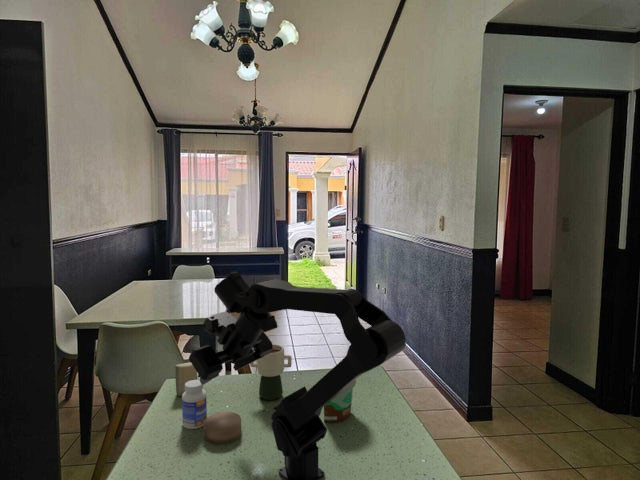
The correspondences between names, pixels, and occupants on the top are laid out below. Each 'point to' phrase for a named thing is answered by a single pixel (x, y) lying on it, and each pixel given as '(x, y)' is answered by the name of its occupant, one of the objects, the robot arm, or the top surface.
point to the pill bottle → (194, 405)
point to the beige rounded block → (184, 376)
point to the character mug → (272, 372)
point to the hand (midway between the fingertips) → (218, 375)
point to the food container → (339, 406)
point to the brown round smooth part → (222, 427)
